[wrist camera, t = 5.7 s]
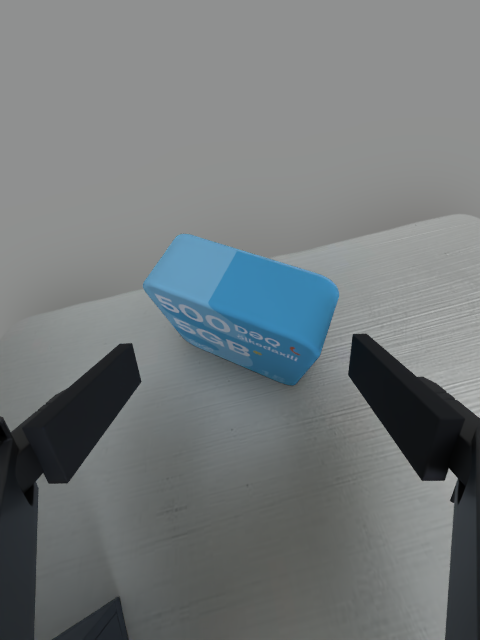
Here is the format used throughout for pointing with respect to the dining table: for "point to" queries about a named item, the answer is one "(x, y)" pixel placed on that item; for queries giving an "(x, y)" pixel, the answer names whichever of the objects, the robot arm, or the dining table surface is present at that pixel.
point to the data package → (244, 306)
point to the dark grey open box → (99, 625)
